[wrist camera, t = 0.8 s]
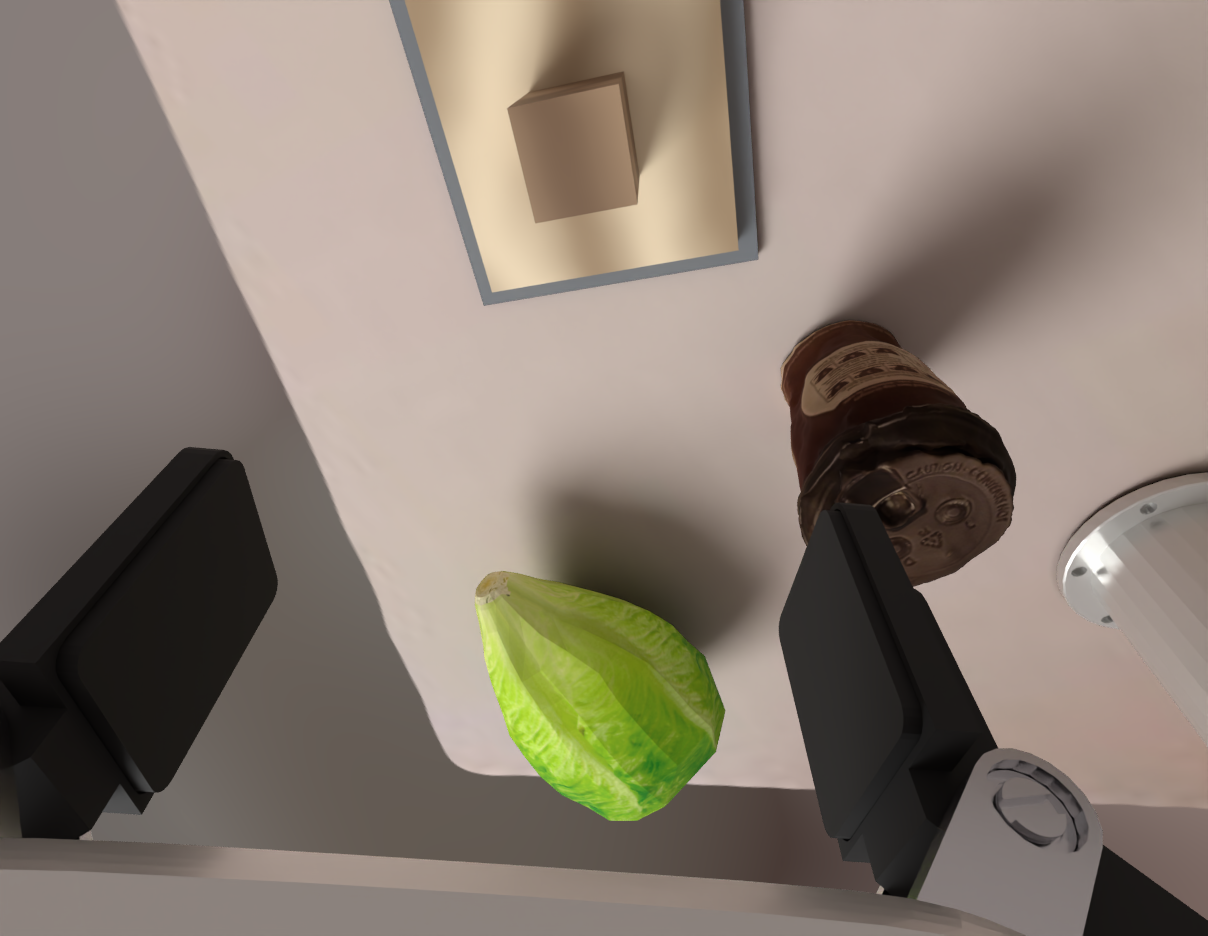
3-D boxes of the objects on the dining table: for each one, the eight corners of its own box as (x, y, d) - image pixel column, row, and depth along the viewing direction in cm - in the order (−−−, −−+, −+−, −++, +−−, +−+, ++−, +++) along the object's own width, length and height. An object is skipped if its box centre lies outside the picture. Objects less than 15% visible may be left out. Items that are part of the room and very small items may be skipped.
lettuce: (599, 476, 41) (582, 625, 31) (742, 659, 50) (764, 818, 40) (433, 556, 46) (373, 707, 36) (591, 709, 55) (578, 862, 45)
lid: (711, -77, 24) (726, -97, 19) (735, 242, 31) (751, 289, 26) (412, -2, 26) (356, -3, 21) (496, 284, 33) (468, 334, 28)
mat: (734, -117, 24) (736, -119, 24) (756, 255, 32) (758, 259, 32) (385, -26, 26) (380, -27, 26) (486, 301, 34) (483, 305, 34)
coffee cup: (755, 307, 34) (802, 447, 23) (926, 278, 32) (1059, 414, 22) (766, 446, 39) (808, 614, 28) (914, 426, 37) (1018, 595, 27)
